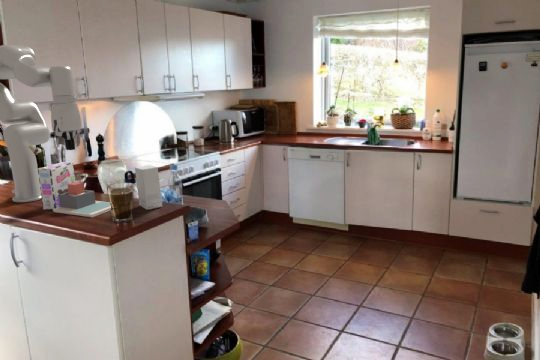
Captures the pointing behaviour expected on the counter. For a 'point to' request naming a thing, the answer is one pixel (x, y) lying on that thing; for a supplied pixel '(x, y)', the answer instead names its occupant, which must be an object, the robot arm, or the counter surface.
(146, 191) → the skincare box
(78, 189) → the die plunger
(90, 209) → the grey block on board
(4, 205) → the counter surface
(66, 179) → the candy box
